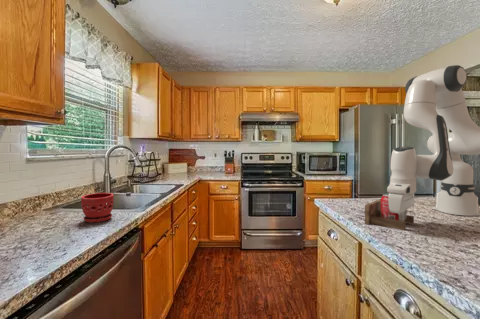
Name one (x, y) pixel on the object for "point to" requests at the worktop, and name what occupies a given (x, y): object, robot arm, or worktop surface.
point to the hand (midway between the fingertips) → (402, 220)
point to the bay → (375, 218)
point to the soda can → (387, 209)
